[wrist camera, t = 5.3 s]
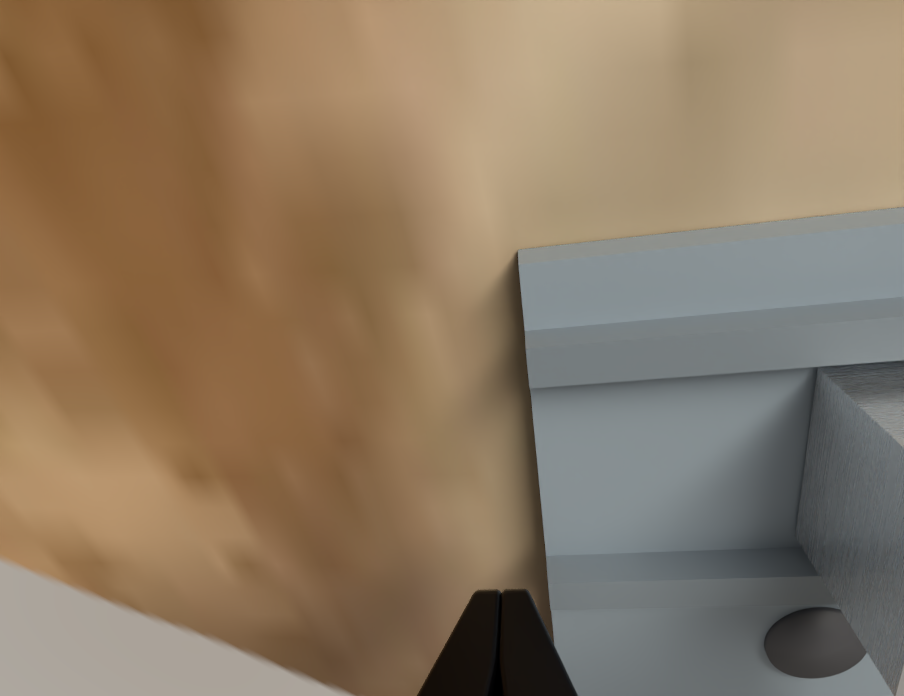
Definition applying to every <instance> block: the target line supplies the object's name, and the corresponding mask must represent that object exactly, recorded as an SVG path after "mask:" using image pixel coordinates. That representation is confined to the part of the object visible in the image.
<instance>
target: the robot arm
mask: <svg viewBox="0 0 904 696" xmlns="http://www.w3.org/2000/svg"><path fill="white" fill-rule="evenodd" d="M417 696H578V694H577V692H576V690H575V688H574V686H573V684H572V682H571V679H570V677H569V675H568V673H567V671H566V669H565V667H564V665H563V662H562V660H561V658H560V656H559V654H558V652H557V650H556V648H555V646H554V643H553V641H552V639H551V637H550V635H549V633H548V631H547V629H546V626H545V624H544V622H543V620H542V618H541V616H540V614H539V612H538V610H537V607H536V605H535V603H534V601H533V599H532V597H531V595H530V593H529V591H528V590H526V589H505V590H504V591H503V592H502V593H501V592H500V591H499V590H497V589H495V590H477V591H476V592H475V593H474V594H473V595H472V597H471V599H470V601H469V603H468V604H467V606H466V608H465V610H464V612H463V613H462V615H461V617H460V619H459V621H458V622H457V624H456V626H455V628H454V630H453V632H452V633H451V635H450V637H449V639H448V641H447V642H446V644H445V646H444V648H443V650H442V651H441V653H440V655H439V657H438V659H437V660H436V662H435V664H434V666H433V668H432V669H431V671H430V673H429V675H428V677H427V679H426V680H425V682H424V684H423V686H422V688H421V689H420V691H419V693H418V695H417Z"/></svg>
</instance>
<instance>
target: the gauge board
mask: <svg viewBox="0 0 904 696" xmlns="http://www.w3.org/2000/svg"><path fill="white" fill-rule="evenodd" d="M518 265H519V276H520V286H521V297H522V308H523V318H524V329H525V347H526V358H527V369H528V379H529V389H530V392H531V403H532V413H533V424H534V434H535V445H536V455H537V466H538V477H539V487H540V498H541V508H542V519H543V529H544V540H545V551H546V563H547V577H548V589H549V600H550V610H551V614H552V624H553V635H554V646H555V648H556V650H557V652H558V654H559V656H560V658H561V660H562V662H563V665H564V667H565V669H566V671H567V673H568V675H569V677H570V679H571V682H572V684H573V686H574V688H575V690H576V692H577V694H578V696H894V695H893V693H892V692H891V690H890V688H889V687H888V685H887V684H886V682H885V680H884V679H883V677H882V676H881V674H880V672H879V671H878V669H877V667H876V666H875V664H874V663H873V661H872V659H871V658H870V656H869V655H868V653H867V651H866V650H865V648H864V647H863V645H862V643H861V642H860V640H859V639H858V637H857V635H856V634H855V632H854V630H853V629H852V627H851V626H850V624H849V622H848V621H847V619H846V618H845V616H844V614H843V613H842V611H841V610H840V608H839V606H838V605H837V603H836V601H835V600H834V598H833V597H832V595H831V593H830V592H829V590H828V589H827V587H826V585H825V584H824V582H823V581H822V579H821V577H820V576H819V574H818V572H817V571H816V569H815V568H814V566H813V564H812V563H811V561H810V560H809V558H808V556H807V555H806V553H805V552H804V550H803V548H802V547H801V545H800V544H799V542H798V540H797V539H796V537H795V534H796V526H797V519H798V512H799V504H800V497H801V490H802V482H803V475H804V467H805V460H806V453H807V445H808V438H809V430H810V423H811V416H812V408H813V401H814V393H815V386H816V379H817V371H818V367H831V366H844V365H857V364H870V363H884V362H897V361H904V207H900V208H891V209H882V210H873V211H864V212H855V213H846V214H837V215H828V216H819V217H810V218H801V219H792V220H783V221H774V222H765V223H756V224H746V225H737V226H728V227H719V228H710V229H701V230H692V231H683V232H674V233H665V234H656V235H647V236H638V237H629V238H620V239H611V240H602V241H593V242H584V243H575V244H565V245H556V246H547V247H538V248H529V249H520V250H518Z"/></svg>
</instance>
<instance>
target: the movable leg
mask: <svg viewBox="0 0 904 696" xmlns="http://www.w3.org/2000/svg"><path fill="white" fill-rule="evenodd" d="M795 537H796V539H797V540H798V542H799V544H800V545H801V547H802V548H803V550H804V552H805V553H806V555H807V556H808V558H809V560H810V561H811V563H812V564H813V566H814V568H815V569H816V571H817V572H818V574H819V576H820V577H821V579H822V581H823V582H824V584H825V585H826V587H827V589H828V590H829V592H830V593H831V595H832V597H833V598H834V600H835V601H836V603H837V605H838V606H839V608H840V610H841V611H842V613H843V614H844V616H845V618H846V619H847V621H848V622H849V624H850V626H851V627H852V629H853V630H854V632H855V634H856V635H857V637H858V639H859V640H860V642H861V643H862V645H863V647H864V648H865V650H866V651H867V653H868V655H869V656H870V658H871V659H872V661H873V663H874V664H875V666H876V667H877V669H878V671H879V672H880V674H881V676H882V677H883V679H884V680H885V682H886V684H887V685H888V687H889V688H890V690H891V692H892V693H893V695H894V696H904V361H897V362H884V363H870V364H857V365H844V366H831V367H818V371H817V379H816V386H815V393H814V401H813V408H812V416H811V423H810V430H809V438H808V445H807V453H806V460H805V467H804V475H803V482H802V490H801V497H800V504H799V512H798V519H797V526H796V534H795Z"/></svg>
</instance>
